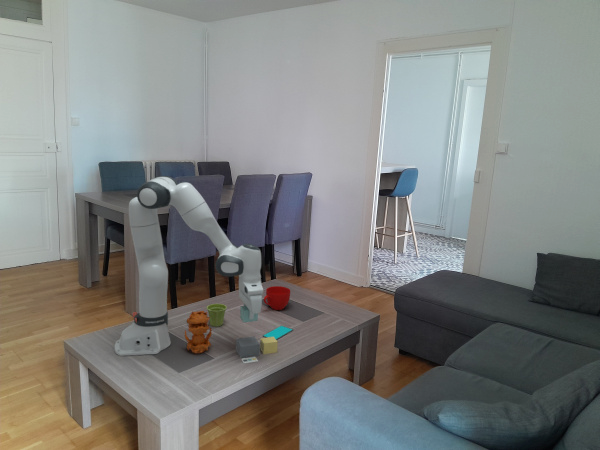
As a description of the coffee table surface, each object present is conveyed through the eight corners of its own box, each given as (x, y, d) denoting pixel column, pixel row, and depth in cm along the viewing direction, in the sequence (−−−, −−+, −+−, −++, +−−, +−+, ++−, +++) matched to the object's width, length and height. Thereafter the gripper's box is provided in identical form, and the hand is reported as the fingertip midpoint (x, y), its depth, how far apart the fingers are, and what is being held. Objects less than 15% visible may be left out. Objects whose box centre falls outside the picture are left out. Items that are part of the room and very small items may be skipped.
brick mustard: (263, 354, 184) (264, 343, 183) (259, 349, 189) (260, 338, 188) (277, 352, 187) (277, 341, 186) (273, 347, 191) (273, 336, 190)
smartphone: (293, 329, 209) (275, 340, 197) (293, 331, 210) (274, 341, 197) (281, 325, 213) (262, 335, 201) (281, 326, 214) (262, 337, 201)
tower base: (240, 358, 180) (241, 347, 179) (235, 349, 187) (236, 338, 186) (259, 355, 183) (259, 344, 182) (253, 347, 190) (254, 336, 189)
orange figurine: (187, 358, 178) (187, 316, 174) (182, 346, 187) (182, 306, 184) (214, 354, 182) (215, 313, 179) (208, 342, 192) (209, 303, 189)
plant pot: (208, 329, 205) (209, 311, 204) (204, 321, 214) (204, 304, 212) (228, 326, 209) (228, 309, 208) (223, 319, 218) (223, 302, 216)
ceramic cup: (255, 309, 233) (255, 291, 231) (277, 301, 245) (277, 284, 244) (272, 316, 224) (273, 297, 223) (294, 308, 237) (295, 290, 235)
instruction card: (243, 363, 176) (243, 363, 176) (241, 358, 180) (241, 358, 179) (258, 361, 178) (258, 360, 178) (255, 356, 182) (255, 356, 182)
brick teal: (243, 322, 179) (243, 310, 178) (240, 317, 183) (240, 306, 182) (257, 320, 181) (258, 309, 180) (253, 316, 186) (254, 304, 185)
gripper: (235, 276, 188) (234, 307, 190) (249, 292, 169) (248, 326, 172) (249, 275, 190) (248, 305, 193) (265, 291, 172) (263, 324, 174)
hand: (248, 315), depth 182 cm, fingers closed on brick teal, 5 cm apart
